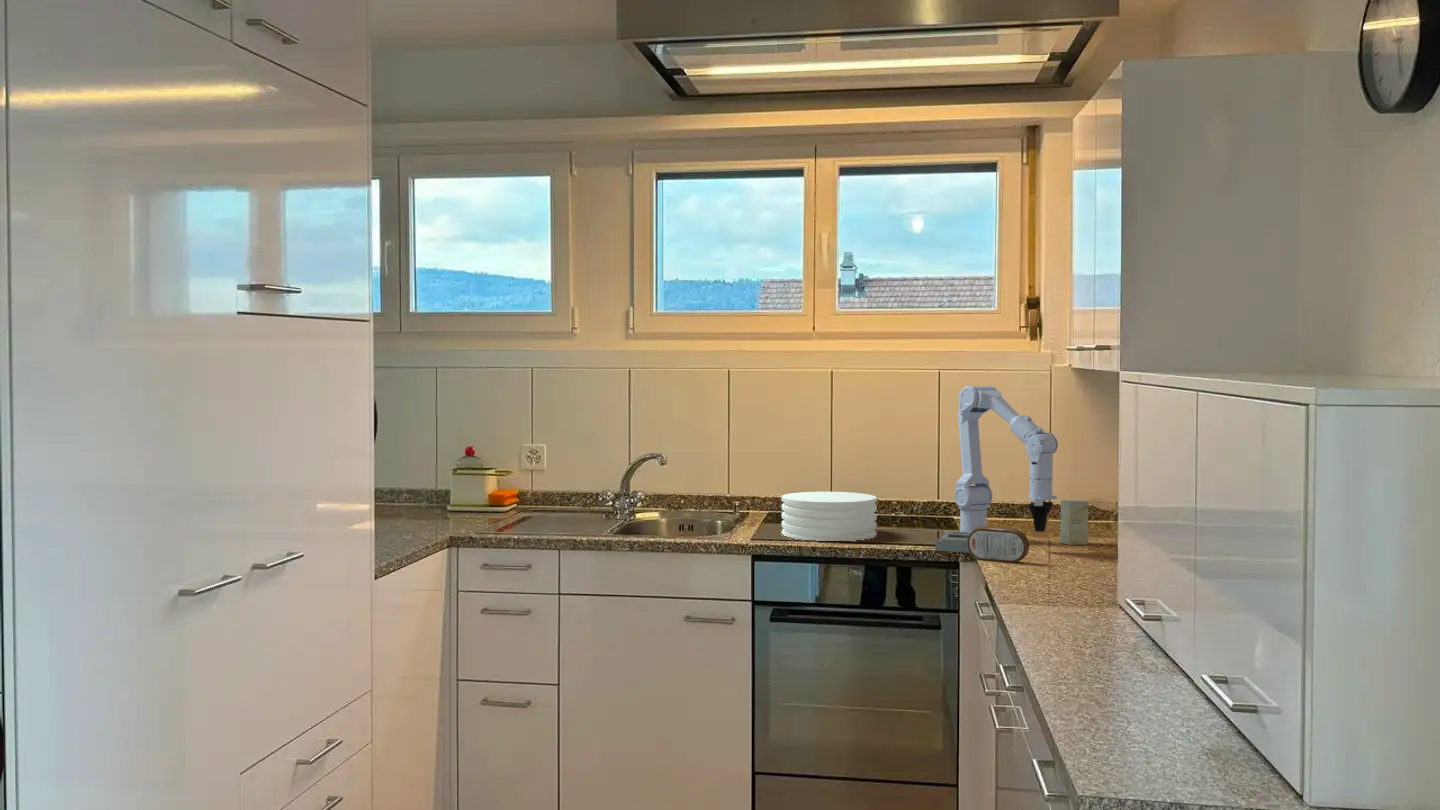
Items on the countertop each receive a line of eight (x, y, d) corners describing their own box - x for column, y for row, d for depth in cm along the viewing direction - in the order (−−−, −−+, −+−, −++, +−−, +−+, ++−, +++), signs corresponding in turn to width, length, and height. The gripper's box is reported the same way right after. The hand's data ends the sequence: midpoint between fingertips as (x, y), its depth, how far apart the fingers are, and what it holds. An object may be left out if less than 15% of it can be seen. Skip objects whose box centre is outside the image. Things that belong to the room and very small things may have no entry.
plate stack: (883, 542, 272) (883, 502, 271) (783, 542, 272) (783, 501, 272) (869, 528, 300) (869, 491, 299) (779, 528, 300) (779, 491, 300)
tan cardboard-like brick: (1034, 535, 257) (1034, 512, 257) (1048, 536, 256) (1048, 513, 256) (1033, 537, 254) (1033, 514, 254) (1047, 538, 253) (1047, 515, 252)
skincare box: (1069, 545, 266) (1069, 501, 265) (1059, 543, 270) (1059, 499, 270) (1089, 544, 267) (1089, 500, 267) (1079, 542, 271) (1079, 499, 271)
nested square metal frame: (943, 544, 268) (943, 530, 268) (980, 546, 264) (980, 532, 264) (935, 550, 257) (935, 536, 257) (973, 553, 253) (973, 538, 253)
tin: (1029, 562, 239) (1029, 529, 239) (1026, 564, 237) (1026, 530, 236) (969, 557, 247) (969, 524, 247) (965, 559, 244) (965, 526, 244)
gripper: (1055, 482, 246) (1054, 535, 247) (1058, 477, 260) (1058, 527, 260) (1026, 480, 249) (1025, 533, 249) (1031, 476, 262) (1030, 525, 263)
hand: (1040, 530), depth 255 cm, fingers closed on tan cardboard-like brick, 3 cm apart
